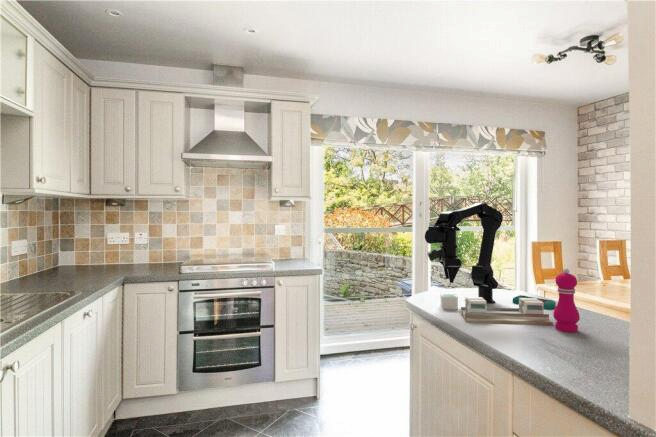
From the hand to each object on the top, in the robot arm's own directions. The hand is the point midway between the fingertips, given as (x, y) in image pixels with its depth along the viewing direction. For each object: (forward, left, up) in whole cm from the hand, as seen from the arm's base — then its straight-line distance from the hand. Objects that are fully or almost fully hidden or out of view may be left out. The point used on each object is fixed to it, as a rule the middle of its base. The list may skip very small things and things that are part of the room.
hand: (449, 280), depth 151 cm
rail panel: (+13, +17, -11) cm, 24 cm away
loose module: (0, 0, -11) cm, 11 cm away
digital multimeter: (-8, +35, -12) cm, 38 cm away
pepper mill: (+25, +33, -11) cm, 43 cm away
